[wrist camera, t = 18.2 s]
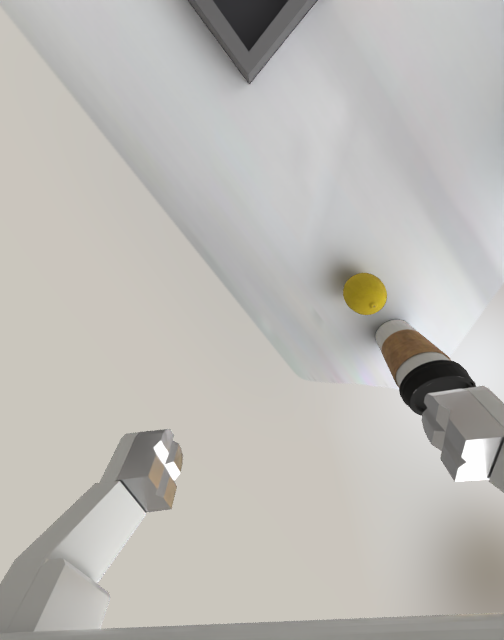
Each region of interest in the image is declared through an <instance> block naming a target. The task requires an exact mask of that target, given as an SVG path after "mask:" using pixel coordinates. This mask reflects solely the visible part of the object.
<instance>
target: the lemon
mask: <svg viewBox="0 0 504 640" xmlns="http://www.w3.org/2000/svg"><path fill="white" fill-rule="evenodd" d="M343 296H344V299H345V302H346V303H347V305H348V306H349V307H350V308H351V309H352V310H353V311H355V312H357V313H359V314H363V315H371V314H374V313H376V312H378V311H379V310H381V309H382V308H383V306H384V305H385V303H386V299H387V292H386V289H385V286H384V284H383V283H382V282H381V280H380V279H379V278H377V277H376V276H374V275H372V274H368V273H359V274H356V275H354V276H352V277H351V278H349V280H348V281H347V282H346V284H345V285H344V289H343Z"/></svg>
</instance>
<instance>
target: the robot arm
mask: <svg viewBox="0 0 504 640" xmlns="http://www.w3.org/2000/svg"><path fill="white" fill-rule="evenodd" d="M424 403H425V405H426V406H427V409H426V410H425V411H424V412H423V413H422V423H423V428H424V431H425V433H426V435H427V437H428V439H429V440H430V442H431V444H432V445H433V446H435V447H436V448H438V449H440V450H441V451H442V453H441V461H442V462H443V464H444V465H445V467H446V468H447V470H448V472H449V473H450V475H451V477H452V478H453V480H454V481H455V482H459V481H474V480H489V482H491V483H492V484H493V485H494V486H496V487H497V488H499V489H500V490H501V491H502V492H504V404H503V402H502V401H501V400H500V399H498V397H497V396H496V395H495V394H493V393H492V392H491V391H490V390H489V389H488V388H486V387H484V386H479V387H472V388H464V389H455V390H448V391H441V392H435V393H428V394H427V395H426V396H425V399H424ZM173 437H174V435H173V433H172V431H171V430H170V429H165V430H156V431H146V432H138V433H130V434H125V435H124V436H123V437H122V438H121V440H120V442H119V444H118V446H117V448H116V450H115V452H114V454H113V456H112V458H111V461H110V463H109V465H108V467H107V469H106V470H105V472H104V475H103V477H102V479H101V481H100V483H95V484H94V485H93V486H92V487H91V488H90V489H89V490H88V491H87V492H86V493H85V494H84V495H83V496H81V497H80V499H78V500H77V501H76V502H75V503H74V504H73V505H72V506H71V507H70V508H69V509H68V510H67V511H66V512H65V513H64V514H63V515H62V516H61V517H60V518H58V519H57V520H56V521H55V522H54V523H53V524H52V525H51V526H50V527H49V528H48V529H47V530H46V531H45V532H44V533H43V534H42V535H41V536H40V537H39V538H37V539H36V540H35V541H34V542H33V543H32V544H31V545H30V546H29V547H28V548H27V549H26V550H25V551H24V552H23V553H22V554H21V555H20V556H19V557H18V558H17V559H15V561H14V562H13V564H12V566H11V567H10V569H9V570H8V572H7V574H6V575H5V577H4V579H3V580H2V582H1V584H0V640H504V613H481V614H459V615H458V614H457V615H432V616H408V617H384V618H383V617H382V618H359V619H335V620H334V619H333V620H310V621H284V622H259V623H235V624H211V625H186V626H163V627H138V628H111V629H100V628H101V625H102V622H103V619H104V616H105V613H106V610H107V607H108V604H109V600H110V595H109V593H108V591H106V590H105V589H103V588H102V587H101V586H99V585H98V584H97V583H98V582H99V580H100V579H101V578H102V576H103V575H104V573H105V572H106V571H107V569H108V568H109V566H110V565H111V563H112V562H113V561H114V559H115V558H116V556H117V555H118V554H119V552H120V551H121V549H122V548H123V547H124V545H125V544H126V542H127V541H128V539H129V538H130V537H131V535H132V534H133V532H134V531H135V530H136V528H137V527H138V525H139V524H140V522H141V521H142V520H143V518H144V517H145V515H146V512H152V511H161V510H168V509H172V505H173V501H174V497H175V493H176V489H177V486H176V483H175V481H174V480H175V479H176V478H177V477H178V475H179V474H180V473H181V468H182V460H183V454H182V450H181V447H180V445H179V444H178V443H176V442H175V441H173Z"/></svg>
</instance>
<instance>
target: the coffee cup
mask: <svg viewBox="0 0 504 640" xmlns="http://www.w3.org/2000/svg"><path fill="white" fill-rule="evenodd" d="M375 339H376V342H377V344H378V346H379V348H380V350H381V352H382V354H383V357H384V359H385V361H386V363H387V365H388V367H389V369H390V372H391V374H392V376H393V378H394V380H395V382H396V384H397V386H398V387H399V391H400V395H401V397H402V399H403V401H404V402H405V403H406V404H407V405H408V406H409V407H410V408H411V409H412V410H413V411H414V412H415V413H417V414H419V415H422V413H423V412H424V411H425V410H426V409H427V406H426V405H425V403H424V399H425V396H426V395H427V394H428V393H435V392H441V391H448V390H455V389H464V388H472V387H476V385H475V383H474V381H473V380H472V379H471V378H470V376H469V375H468V373H467V371H466V370H465V369H464V368H463V367H462V366H461V365H460V364H458V363H456V362H454V361H451V360H450V358H449V357H448V356H447V355H446V354H444V353H443V352H442V351H441V350H440V349H438V348H437V347H436V346H435V345H433V344H432V343H431V342H430V341H429V340H427V339H426V338H425V337H424V336H422V335H421V334H420V333H419V332H417V331H416V330H415V329H414V328H413V327H412V326H410V325H409V324H408V323H407V322H405V321H403V320H397V319H396V320H390V321H388V322H386V323H384V324H383V325H381V326H380V327H379V329H378V330H377V332H376V335H375Z"/></svg>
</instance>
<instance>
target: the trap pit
mask: <svg viewBox="0 0 504 640" xmlns="http://www.w3.org/2000/svg"><path fill="white" fill-rule="evenodd" d="M188 1H189V2H190V4H191V5H192V6H193V8H194V9H195V11H196V12H197V13H198V15H199V16H200V17H201V19H202V20H203V22H204V23H205V24H206V26H207V27H208V28H209V30H210V31H211V32H212V34H213V35H214V37H215V38H216V39H217V41H218V42H219V43H220V45H221V46H222V47H223V49H224V50H225V52H226V53H227V54H228V56H229V57H230V58H231V60H232V61H233V62H234V64H235V65H236V67H237V68H238V69H239V71H240V72H241V73H242V75H243V76H244V78H245V79H246V80H247V82H248V83H249V84H250V83H251V82H252V81H253V79H254V78H255V77H256V76H257V74H258V73H259V72H260V71H261V69H262V68H263V67H264V66H265V65H266V63H267V62H268V61H269V60H270V58H271V57H272V56H273V55H274V53H275V52H276V51H277V50H278V48H279V47H280V46H281V45H282V44H283V42H284V41H285V40H286V39H287V37H288V36H289V35H290V34H291V32H292V31H293V30H294V29H295V27H296V26H297V25H298V24H299V22H300V21H301V20H302V19H303V18H304V16H305V15H306V14H307V13H308V11H309V10H310V9H311V8H312V6H313V5H314V4H315V3H316V1H317V0H188Z"/></svg>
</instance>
